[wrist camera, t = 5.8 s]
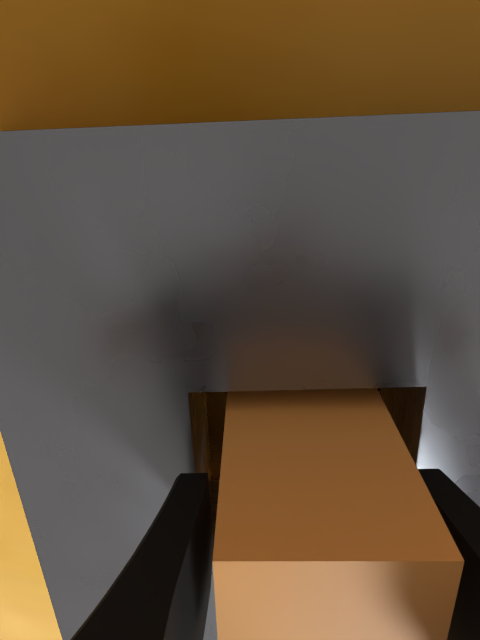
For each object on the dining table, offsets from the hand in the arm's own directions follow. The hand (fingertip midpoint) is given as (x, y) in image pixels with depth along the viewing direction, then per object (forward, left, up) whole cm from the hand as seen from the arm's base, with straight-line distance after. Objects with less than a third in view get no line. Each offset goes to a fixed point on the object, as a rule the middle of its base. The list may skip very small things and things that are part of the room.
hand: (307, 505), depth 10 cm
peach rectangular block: (0, 0, -4) cm, 4 cm away
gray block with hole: (0, 0, -4) cm, 4 cm away
